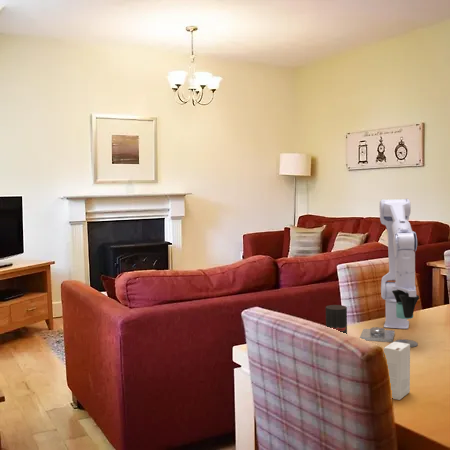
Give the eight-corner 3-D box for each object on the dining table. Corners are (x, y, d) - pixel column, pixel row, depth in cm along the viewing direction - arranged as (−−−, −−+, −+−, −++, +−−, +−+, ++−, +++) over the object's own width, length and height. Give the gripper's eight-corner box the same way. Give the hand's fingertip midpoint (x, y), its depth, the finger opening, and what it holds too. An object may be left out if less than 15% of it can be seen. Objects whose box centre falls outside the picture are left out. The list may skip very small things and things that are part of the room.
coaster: (394, 340, 174) (394, 338, 174) (417, 341, 171) (417, 340, 171) (393, 346, 167) (393, 345, 167) (417, 348, 165) (417, 347, 165)
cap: (410, 314, 171) (410, 300, 171) (415, 318, 166) (415, 303, 166) (394, 315, 171) (394, 300, 171) (398, 319, 166) (398, 304, 166)
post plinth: (363, 331, 185) (363, 324, 184) (394, 333, 181) (394, 326, 181) (359, 339, 175) (359, 332, 175) (392, 342, 172) (392, 334, 172)
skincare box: (393, 388, 134) (392, 340, 133) (411, 392, 131) (410, 343, 130) (382, 396, 129) (382, 346, 128) (400, 401, 127) (400, 350, 126)
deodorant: (347, 362, 155) (346, 309, 153) (326, 361, 156) (325, 309, 155) (347, 355, 160) (346, 305, 159) (326, 354, 162) (325, 304, 160)
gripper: (385, 268, 175) (385, 310, 176) (399, 276, 160) (399, 321, 161) (407, 267, 175) (407, 309, 176) (423, 275, 160) (423, 321, 161)
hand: (405, 315), depth 169 cm, fingers closed on cap, 5 cm apart
